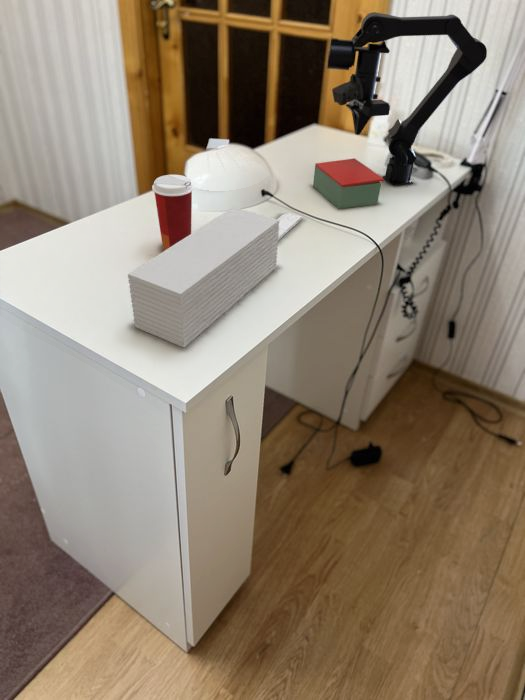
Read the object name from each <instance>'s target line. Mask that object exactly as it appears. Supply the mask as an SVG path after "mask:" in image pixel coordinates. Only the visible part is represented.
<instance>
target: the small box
mask: <svg viewBox="0 0 525 700" xmlns="http://www.w3.org/2000/svg"><path fill="white" fill-rule="evenodd" d="M230 141H231V140H230V139H226V138H209V139H208V143H207V146H206V148H205V151H208V150H210V149H214V148H215V147H217V148H218V146H221V145H227V144H231V143H230Z"/></svg>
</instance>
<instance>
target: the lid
mask: <svg viewBox="0 0 525 700" xmlns="http://www.w3.org/2000/svg"><path fill="white" fill-rule="evenodd" d="M315 166H317V167H318V168H319V169H320V170H321V171H323V172H324V173H325V174H326V175H328V176H329V177H330V178H331V179H333V180H334V181H335V182H336V183H337V184H339V185H340V186H341V187H347V186H354V185H360V184H367V183H374V182H381V183H382V182H384V181H385V179H384V178H383V176H381V175H379V174H378V173H376V172H375V171H373V170H372V169H371V168H369V167H368V166H366V165H365V164H364V163H362V162H361V161H359V160H358V159H357V158H348V159H339V160H332V161H324V162H323V161H322V162H315ZM315 166H314V167H315Z"/></svg>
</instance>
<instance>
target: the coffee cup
mask: <svg viewBox="0 0 525 700" xmlns="http://www.w3.org/2000/svg"><path fill="white" fill-rule="evenodd" d="M151 188H152V191H153V192H154V199H155V205H156V211H157V218H158V219H157V220H158V225H159V232H160V238H161V244H162V249H163V251H165V250H167V249H168V248H170V247H171V246H173V245H174V244H176V243H178V242H179V241H181V240H182V239H184V238H185V237H187V236H189V235H190V234H192V212H193V211H192V209H193V208H192V207H193V205H192V204H193V202H192V201H193V200H192V199H193V196H192V195H193V190H194V185H193V184H192V181H191V179H190V178H189V177H187V176H185V175H181V174H166V175H161V176H159V177H157V178H156V179H155V180H154V182H153V184H152V186H151Z"/></svg>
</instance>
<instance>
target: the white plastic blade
mask: <svg viewBox="0 0 525 700" xmlns="http://www.w3.org/2000/svg"><path fill="white" fill-rule="evenodd" d="M277 220H279V229H278V230H279V233H278V238H277V239H278V241H279V240H281V239H282V238H283V237H285V235H286V234H288V233H289V232H290V231H291V230H292V229H293V228H294V227H296V226H297V225H298V223H300V222H301V221H302V216H301V215H299V214H295V213H290V212H289V213H283V214H281V215H280V216H279V217H278V218H277Z"/></svg>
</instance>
